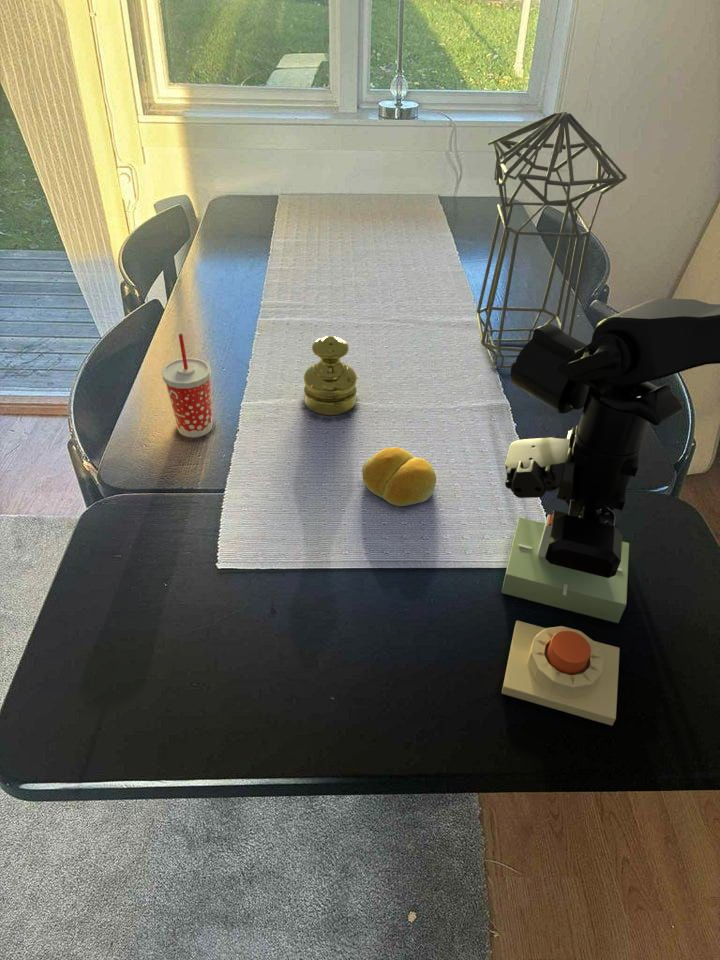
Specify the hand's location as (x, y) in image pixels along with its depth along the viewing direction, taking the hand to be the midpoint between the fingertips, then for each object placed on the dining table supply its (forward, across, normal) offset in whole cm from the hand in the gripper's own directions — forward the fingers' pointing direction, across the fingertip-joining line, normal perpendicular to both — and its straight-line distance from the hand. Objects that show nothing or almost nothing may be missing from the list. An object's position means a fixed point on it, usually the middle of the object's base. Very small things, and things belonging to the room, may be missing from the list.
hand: (570, 554), depth 73 cm
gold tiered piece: (+4, -22, -35) cm, 42 cm away
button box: (+4, +12, +1) cm, 13 cm away
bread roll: (+4, -8, -21) cm, 23 cm away
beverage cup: (+4, -10, -50) cm, 51 cm away
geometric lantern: (+4, -44, -12) cm, 46 cm away
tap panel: (+4, 0, 0) cm, 4 cm away
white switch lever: (0, 0, 0) cm, 0 cm away
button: (+1, +12, +1) cm, 13 cm away
